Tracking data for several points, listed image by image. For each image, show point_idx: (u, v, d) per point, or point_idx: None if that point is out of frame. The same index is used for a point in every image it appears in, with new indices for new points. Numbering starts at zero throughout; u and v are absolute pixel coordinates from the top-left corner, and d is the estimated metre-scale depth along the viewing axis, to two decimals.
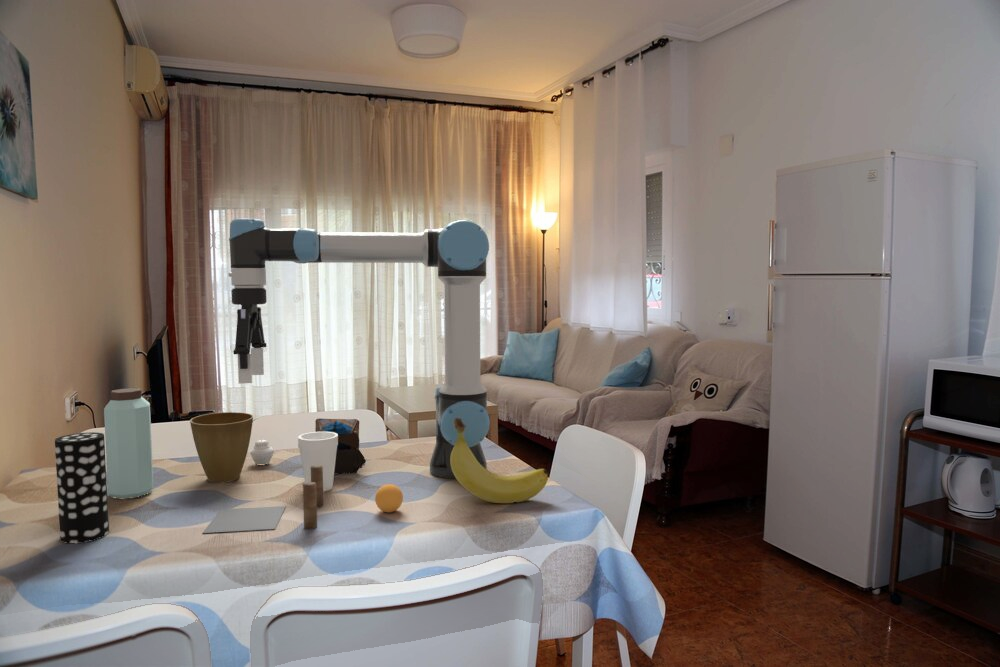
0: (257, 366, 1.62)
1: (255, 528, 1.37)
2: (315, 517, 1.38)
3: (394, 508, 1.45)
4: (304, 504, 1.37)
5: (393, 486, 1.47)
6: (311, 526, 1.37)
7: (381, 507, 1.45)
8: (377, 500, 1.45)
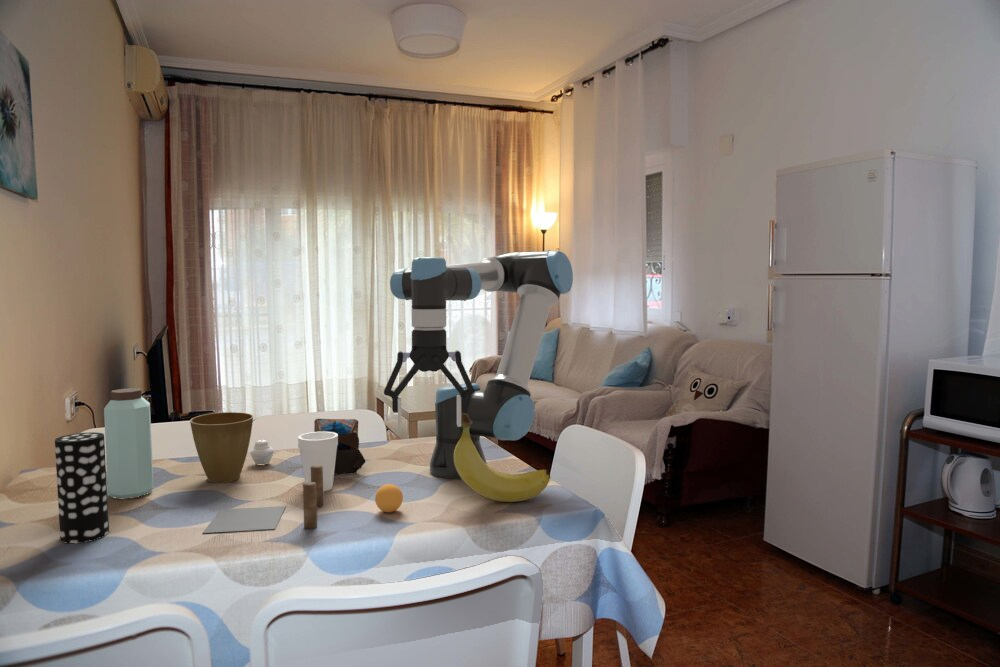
0: (457, 416, 1.48)
1: (255, 528, 1.37)
2: (315, 517, 1.38)
3: (394, 508, 1.45)
4: (304, 504, 1.37)
5: (393, 486, 1.47)
6: (311, 526, 1.37)
7: (381, 507, 1.45)
8: (377, 500, 1.45)
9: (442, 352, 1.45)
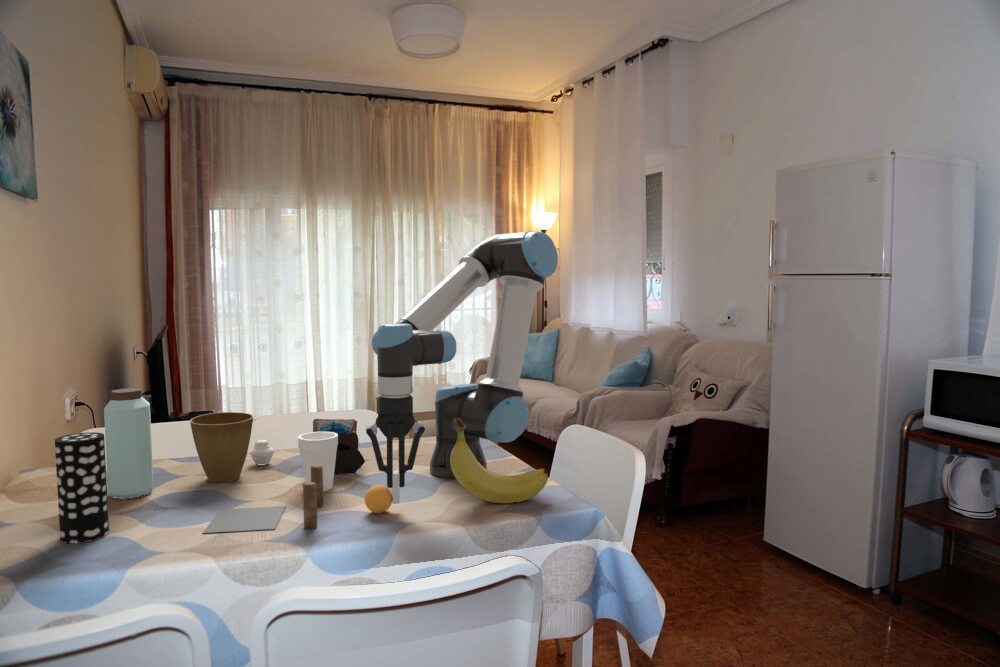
0: None
1: (255, 528, 1.37)
2: (315, 517, 1.38)
3: (387, 505, 1.45)
4: (304, 504, 1.37)
5: (375, 487, 1.46)
6: (311, 526, 1.37)
7: (375, 511, 1.45)
8: (368, 507, 1.45)
9: (410, 418, 1.45)
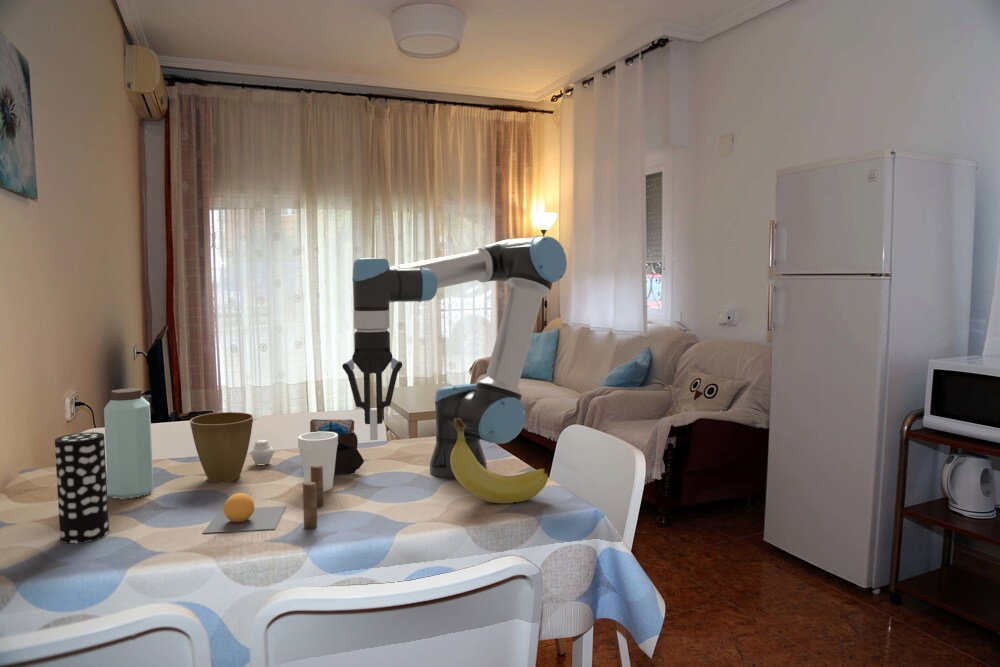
0: None
1: (255, 528, 1.37)
2: (315, 517, 1.38)
3: (227, 509, 1.39)
4: (304, 504, 1.37)
5: (245, 520, 1.41)
6: (311, 526, 1.37)
7: (238, 501, 1.39)
8: (247, 501, 1.40)
9: (387, 354, 1.44)
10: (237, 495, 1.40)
